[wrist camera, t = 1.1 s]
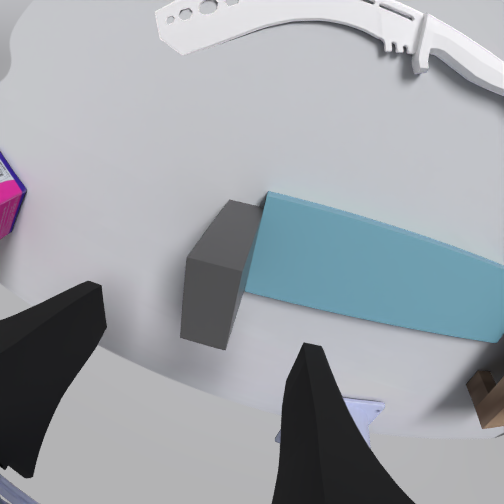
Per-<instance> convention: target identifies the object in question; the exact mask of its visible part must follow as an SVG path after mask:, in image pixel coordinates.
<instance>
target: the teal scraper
mask: <svg viewBox="0 0 504 504" xmlns="http://www.w3.org/2000/svg"><path fill="white" fill-rule="evenodd" d="M246 282H247V284H246ZM245 285H246V288H245ZM244 289H245V292H249V293H253V294H257V295H261V296H265V297H269V298H273V299H277V300H282V301H286V302H290V303H294V304H298V305H303V306H307V307H311V308H316V309H320V310H324V311H329V312H333V313H338V314H342V315H347V316H352V317H356V318H361V319H366V320H370V321H375V322H380V323H385V324H390V325H395V326H400V327H405V328H410V329H416V330H421V331H426V332H432V333H437V334H443V335H449V336H454V337H460V338H466V339H472V340H478V341H485V342H491V343H497V342H498V341H499V339H500V338H501V336H502V335H503V334H504V265H501V264H499V263H496V262H494V261H491V260H489V259H486V258H484V257H481V256H478V255H476V254H473V253H470V252H468V251H465V250H462V249H460V248H457V247H454V246H451V245H449V244H446V243H443V242H440V241H437V240H434V239H432V238H429V237H426V236H423V235H420V234H417V233H414V232H411V231H408V230H405V229H402V228H399V227H395V226H392V225H389V224H386V223H383V222H379V221H376V220H373V219H370V218H366V217H363V216H360V215H356V214H353V213H349V212H346V211H342V210H339V209H335V208H332V207H328V206H325V205H321V204H317V203H313V202H310V201H306V200H302V199H298V198H294V197H291V196H287V195H283V194H279V193H275V192H270V191H268V194H267V197H266V202H265V206H264V208H262V207H258V206H254V205H250V204H246V203H242V202H237V201H233V200H229V201H228V202H227V204H226V205H225V206H224V208H223V209H222V210H221V212H220V213H219V214H218V216H217V217H216V218H215V220H214V221H213V222H212V224H211V225H210V226H209V228H208V229H207V230H206V232H205V233H204V234H203V236H202V237H201V238H200V240H199V241H198V243H197V244H196V245H195V247H194V248H193V249H192V251H191V252H190V254H189V255H188V256H187V261H186V271H185V282H184V293H183V305H182V318H181V333H180V338H183V339H187V340H190V341H193V342H197V343H200V344H204V345H207V346H211V347H214V348H218V349H222V350H226V347H227V344H228V340H229V337H230V334H231V331H232V328H233V324H234V321H235V318H236V315H237V311H238V308H239V305H240V302H241V298H242V295H243V292H244Z"/></svg>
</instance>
